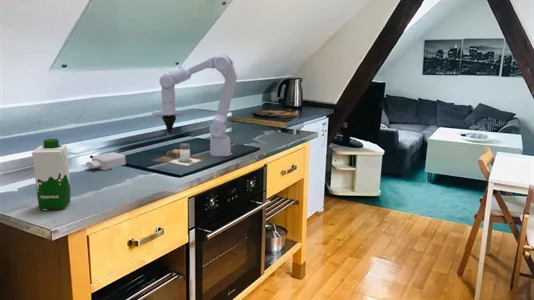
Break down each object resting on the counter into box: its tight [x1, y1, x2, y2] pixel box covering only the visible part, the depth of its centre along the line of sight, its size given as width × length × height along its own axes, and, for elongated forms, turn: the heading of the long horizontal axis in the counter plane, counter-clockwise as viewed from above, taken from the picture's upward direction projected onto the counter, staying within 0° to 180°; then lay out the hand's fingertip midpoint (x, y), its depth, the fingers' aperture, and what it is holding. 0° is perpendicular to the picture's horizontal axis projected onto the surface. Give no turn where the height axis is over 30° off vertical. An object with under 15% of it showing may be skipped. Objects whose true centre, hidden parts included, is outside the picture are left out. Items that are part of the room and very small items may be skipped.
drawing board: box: [152, 149, 209, 167], centre depth 186 cm, size 15×18×3 cm
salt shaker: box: [179, 142, 191, 162], centre depth 183 cm, size 4×4×7 cm
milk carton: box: [31, 138, 71, 211], centre depth 131 cm, size 9×9×20 cm
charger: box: [83, 151, 127, 171], centre depth 174 cm, size 5×9×15 cm
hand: (169, 132), depth 195 cm, fingers closed
